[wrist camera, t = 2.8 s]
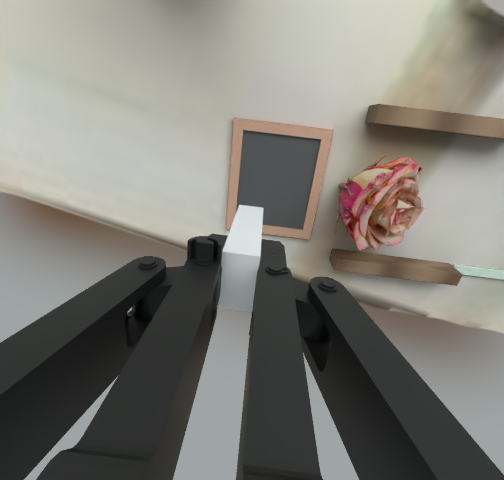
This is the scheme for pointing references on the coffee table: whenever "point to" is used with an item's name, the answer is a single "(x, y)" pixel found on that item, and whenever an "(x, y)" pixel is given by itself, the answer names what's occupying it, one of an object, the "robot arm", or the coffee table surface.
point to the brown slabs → (425, 121)
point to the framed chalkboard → (278, 174)
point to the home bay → (480, 271)
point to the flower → (381, 203)
